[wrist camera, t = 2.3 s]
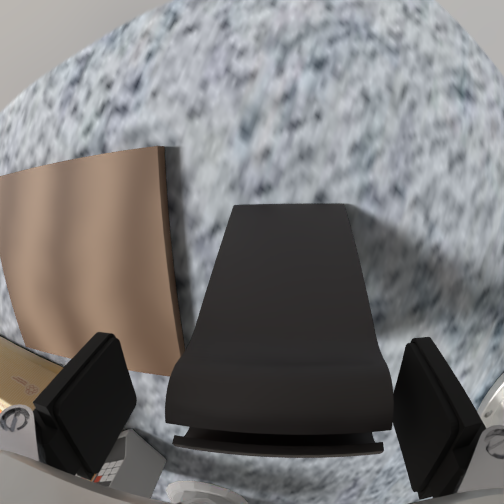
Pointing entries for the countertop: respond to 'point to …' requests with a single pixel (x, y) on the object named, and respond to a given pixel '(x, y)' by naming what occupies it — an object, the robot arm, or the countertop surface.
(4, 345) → the coffeecake box
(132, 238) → the walnut board
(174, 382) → the phone stand
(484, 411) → the robot arm
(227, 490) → the french press
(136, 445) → the vintage mobile phone
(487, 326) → the countertop surface
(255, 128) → the countertop surface
